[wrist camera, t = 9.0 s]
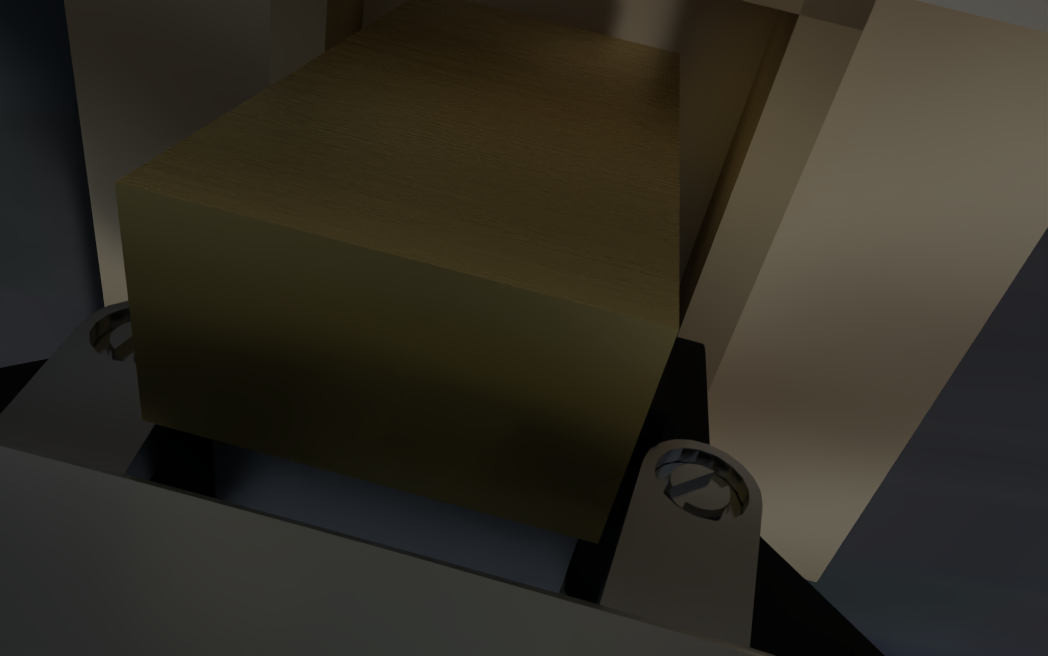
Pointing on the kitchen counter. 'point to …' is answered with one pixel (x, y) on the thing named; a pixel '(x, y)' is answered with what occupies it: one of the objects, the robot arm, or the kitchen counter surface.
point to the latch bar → (421, 283)
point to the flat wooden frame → (720, 194)
